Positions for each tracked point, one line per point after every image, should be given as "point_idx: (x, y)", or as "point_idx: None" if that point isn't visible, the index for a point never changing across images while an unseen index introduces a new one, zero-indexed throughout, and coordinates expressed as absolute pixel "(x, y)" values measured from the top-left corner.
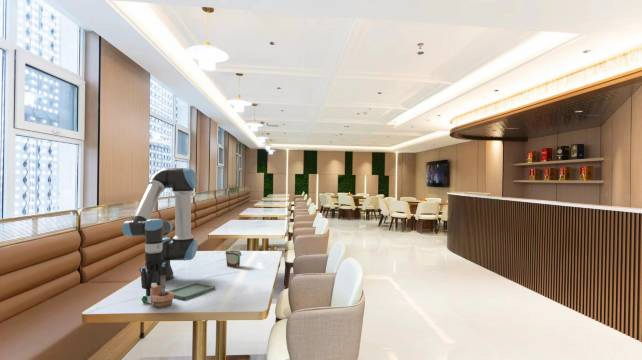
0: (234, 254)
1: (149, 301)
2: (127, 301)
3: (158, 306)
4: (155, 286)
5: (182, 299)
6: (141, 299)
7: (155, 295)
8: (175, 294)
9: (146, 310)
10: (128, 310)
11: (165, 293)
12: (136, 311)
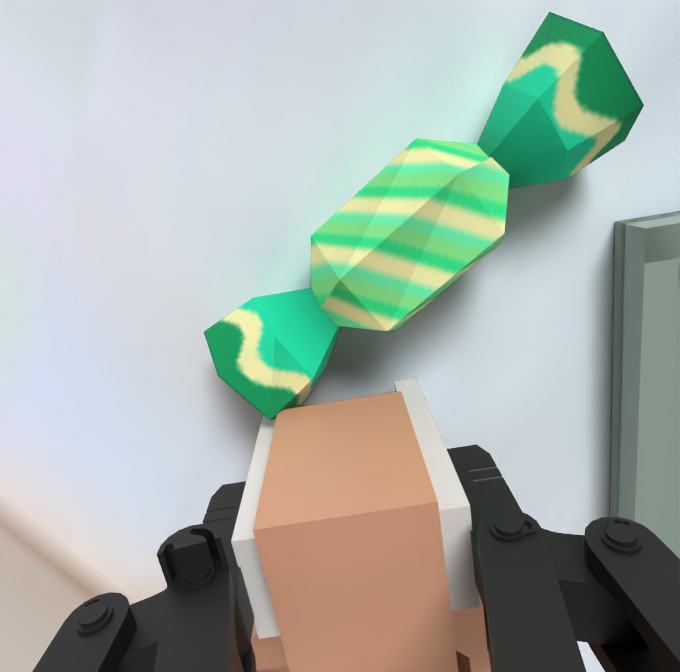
0: None
1: None
2: (84, 36)
3: None
4: (360, 659)
5: None
6: (206, 330)
7: (286, 666)
8: (651, 472)
9: None
10: (7, 438)
11: (455, 639)
12: (76, 530)
